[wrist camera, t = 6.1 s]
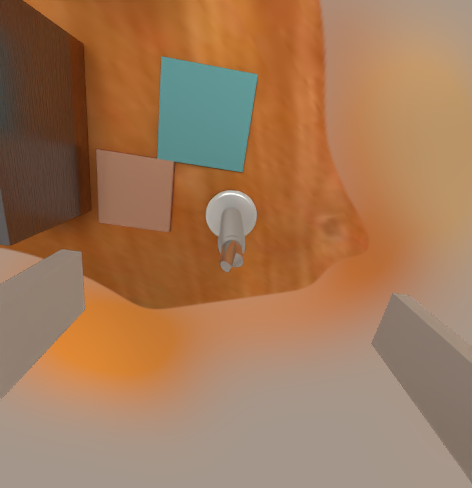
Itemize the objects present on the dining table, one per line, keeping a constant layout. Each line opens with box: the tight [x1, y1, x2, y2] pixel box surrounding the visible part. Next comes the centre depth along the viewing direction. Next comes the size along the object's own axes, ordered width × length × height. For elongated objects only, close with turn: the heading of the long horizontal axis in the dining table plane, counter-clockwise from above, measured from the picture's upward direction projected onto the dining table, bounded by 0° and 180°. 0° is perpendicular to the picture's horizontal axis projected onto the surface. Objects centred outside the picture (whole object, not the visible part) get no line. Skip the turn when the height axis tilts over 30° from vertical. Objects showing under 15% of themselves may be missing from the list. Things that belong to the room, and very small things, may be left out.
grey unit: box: [0, 0, 91, 246], centre depth 18 cm, size 5×14×10 cm, turn 171°
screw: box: [206, 190, 257, 273], centre depth 20 cm, size 13×5×5 cm
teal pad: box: [157, 57, 258, 172], centre depth 22 cm, size 8×8×1 cm
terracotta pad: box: [96, 149, 175, 232], centre depth 25 cm, size 7×7×1 cm
